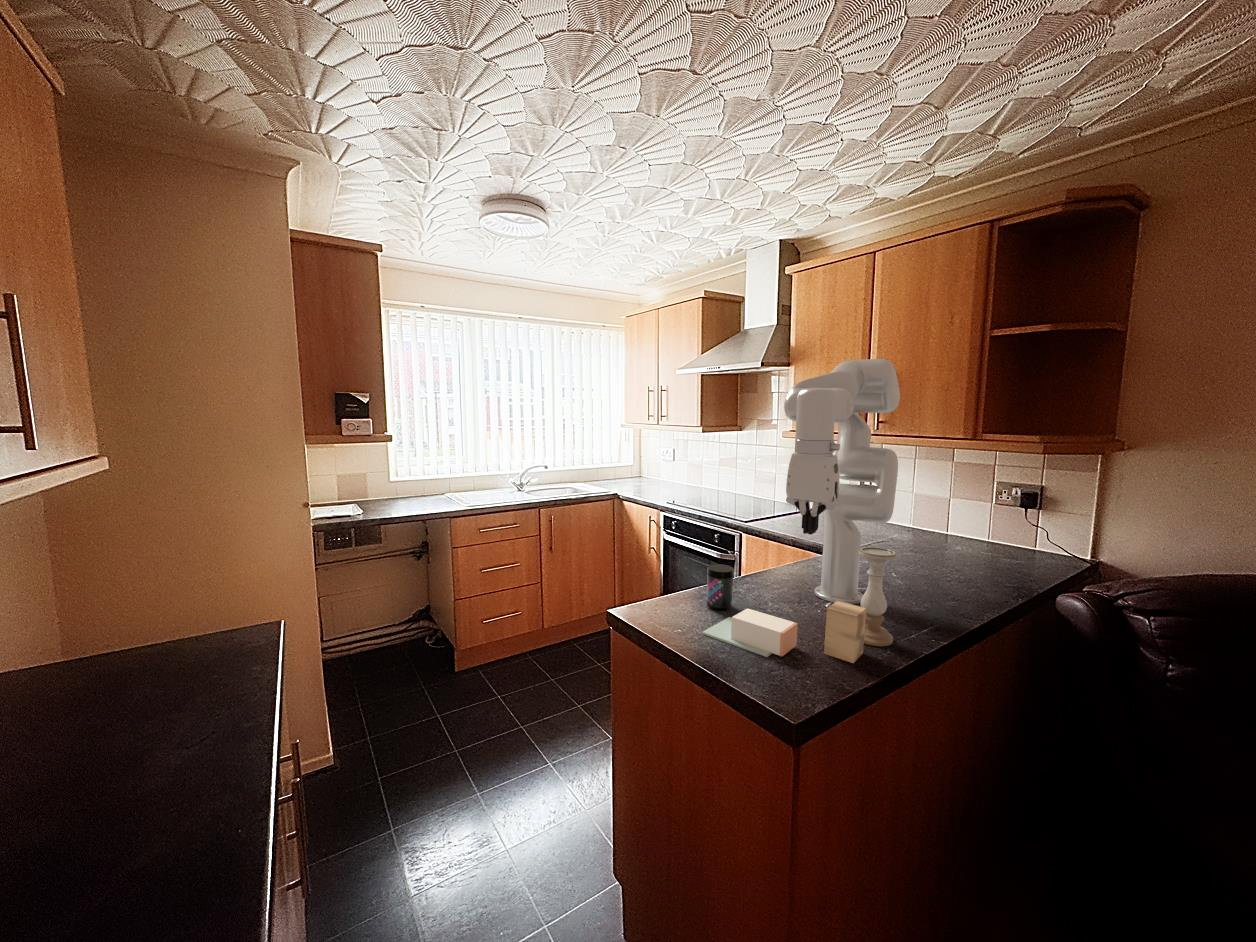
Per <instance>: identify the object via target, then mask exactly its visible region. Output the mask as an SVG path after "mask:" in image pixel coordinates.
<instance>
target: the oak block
mask: <svg viewBox="0 0 1256 942" xmlns="http://www.w3.org/2000/svg"><path fill="white" fill-rule="evenodd" d="M825 617H826V618H825V619H826V620H825V632H824V633H825V634H824V647H823V654H824V655H826V656H829V657H833V658H836V659H839V660H842V661H845V662H849V663H851V664H854V663H855V662H856V661H857V660H858V659H859V658H860V657H861V656H862V655H863V654H864V645H865V644H864V632H865V619H866V608H864V607H861V605H860V606H859V605H857V604H848V603H844V602H840V601H836V602H835V603H834V602H832V604H831V605H829V606H828V607H826V616H825Z"/></svg>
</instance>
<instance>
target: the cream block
mask: <svg viewBox="0 0 1256 942" xmlns="http://www.w3.org/2000/svg"><path fill="white" fill-rule="evenodd" d="M798 625H799V624H798V623H797V622H795V621H791V620H788V619H785V618H781V617H778V616H775V615H771V614H768V613H764V612H761V611H757V610H755V609H750V608H746V609H744V610H742V611H740V612H738V613H736V614H735V615H732V626H731V639H733V640H736V641H739V642H742V643H745V644H748V645H750V646H753V647H756V648H759V649H762V650H765V651H768V652H770V653H772V654H773V655H776V656H779V657H784V656H785V655H787V654H788V653H789V652H790V651H791V650H793V649H794V648H795V647H797V643H798V641H797V640H798Z"/></svg>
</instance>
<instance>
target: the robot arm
mask: <svg viewBox="0 0 1256 942" xmlns="http://www.w3.org/2000/svg"><path fill="white" fill-rule="evenodd" d="M900 394H901V392H900V386H899V381H898V376H897V372H896V369H895V365H894V364H893V363H892V362H891V361H889V360H888V359H885V358H869V359H867V358H866V359H848V360H845V361H842V362H841V363H839V364H838V365H837V366H835V368H833V369H832V370H831V371H830V372H829V373H825V374H821V375H819V376H815V377H811V378H807V379H804V380H801V381H799V382H797V383H795V384H794V385H793V386H791V389H790V390H789V391H788V393H787V394H786V396H785V398H784V404H783V405H784V406H783V409H784V414H785V416H786V417H787V418H788V420H790V421H792V422H795V438H794V439H795V440H794V452H793V453H791V456H790V460H789V462H788V470H787V475H786V476H787V477H786V483H785V484H786V486H785V493H786V495H785V496H786V499H785V502H786V503H787V504H788V505H789V504H790V505H792V506H795V507H796V509H797V510H798V511H799V513H800V515H801V529H802V530H803V531H802V533H803V534H805V535H806V534H808V535H810V536H811V535H813V534H815V533H817V531H818V530H819V522H820V521H819V519H820V515H821V514H822V513H823V518H824V520H823V521H824V526H823V527H824V529H823V546H822V560H821V561H822V562H821V563H822V564H821V577H820V585H818V586H816V587H815V588H814V594H815V595H816V596H817V597H818V598H820V599H821V600H824V601H826V602H831V603H835V602H836V601H840V602H844V603H848V604H852V605H857V604H860V602H861V599H862V596H863V595H864V593H862V592H860V591H859V578H860V564H861V555H860V554H859V549H860V548H862V535H861V531H860V530H859V528H858V527H857V525H856V524H855V522H854V521H860V522H867V523H876V524H886V523H887V522H889V521H890V520H891V519H892V516H893V513H894V507H895V500H896V493H897V492H896V490H897V483H898V474H899V459H898V456H897V454H896V452H895V451H894V450H893V449H891V448H887V447H871V439H872V429H871V427H870V426H869V425H868V423H867V422H866V420H865V419H864V418H862V417H861V415H859V413H861V414H867V413H868V414H889V413H892V412H894V411H896V409H897V408H898V407H899V405H900V399H901V395H900ZM835 423H836V426H837V432H838V433H837V440H836V442H835V439H834V435H835ZM840 480H844V481H851V482H861V483H862V482H864V483H873V484H875V485H876V486H871V485H861V484H851V483H840ZM811 503H812V505H810V504H811Z"/></svg>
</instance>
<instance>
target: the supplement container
mask: <svg viewBox="0 0 1256 942" xmlns="http://www.w3.org/2000/svg"><path fill="white" fill-rule="evenodd" d="M706 571H707V576H706V577H707V580H706V581H707V583H706V606H707V607H708V608H709V609H710V610H713V611H716V610H717V612H725V611H729V610H731V609H732V607H733V599H734V598H733V595H734V594H733V592H734V576H735V575H734V574H735V573H734V571H735V568H734V567H732V566H731V565H727V564H721V563H720V564H718V563H717V564H716V563H715V564H710V565H708V566H707V570H706Z"/></svg>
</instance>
